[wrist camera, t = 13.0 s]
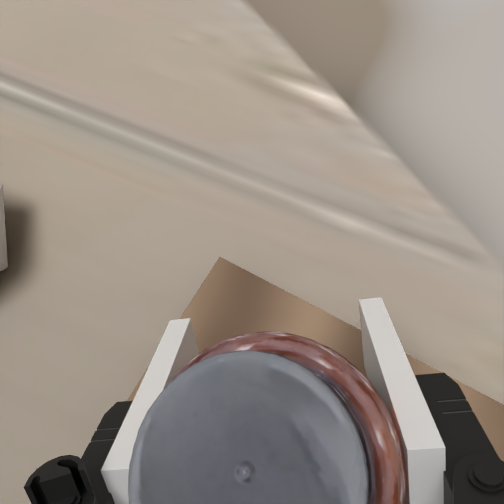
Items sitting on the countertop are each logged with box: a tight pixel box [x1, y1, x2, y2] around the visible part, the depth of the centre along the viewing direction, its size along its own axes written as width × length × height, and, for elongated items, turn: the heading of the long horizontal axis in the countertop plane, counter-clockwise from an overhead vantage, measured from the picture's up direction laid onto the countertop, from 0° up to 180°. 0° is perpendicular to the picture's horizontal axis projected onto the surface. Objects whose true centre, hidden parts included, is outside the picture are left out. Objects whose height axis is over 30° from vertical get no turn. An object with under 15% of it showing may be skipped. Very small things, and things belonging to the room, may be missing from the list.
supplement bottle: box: [128, 331, 406, 504], centre depth 12 cm, size 6×6×11 cm
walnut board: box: [127, 257, 504, 461], centre depth 20 cm, size 16×12×2 cm
